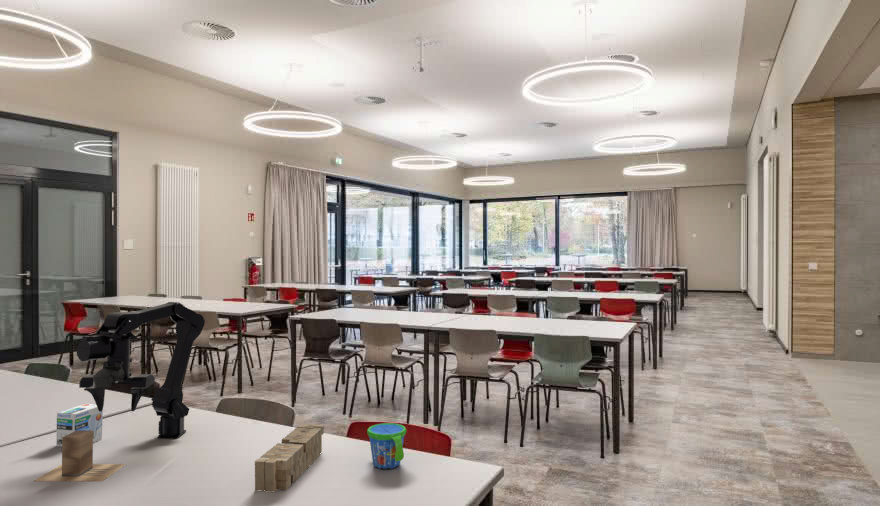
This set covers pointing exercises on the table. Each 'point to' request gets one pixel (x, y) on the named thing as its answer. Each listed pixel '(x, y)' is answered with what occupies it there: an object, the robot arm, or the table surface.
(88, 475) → the board
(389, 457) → the snack cup
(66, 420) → the light bulb box
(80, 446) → the block
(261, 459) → the block tower
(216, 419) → the table surface
